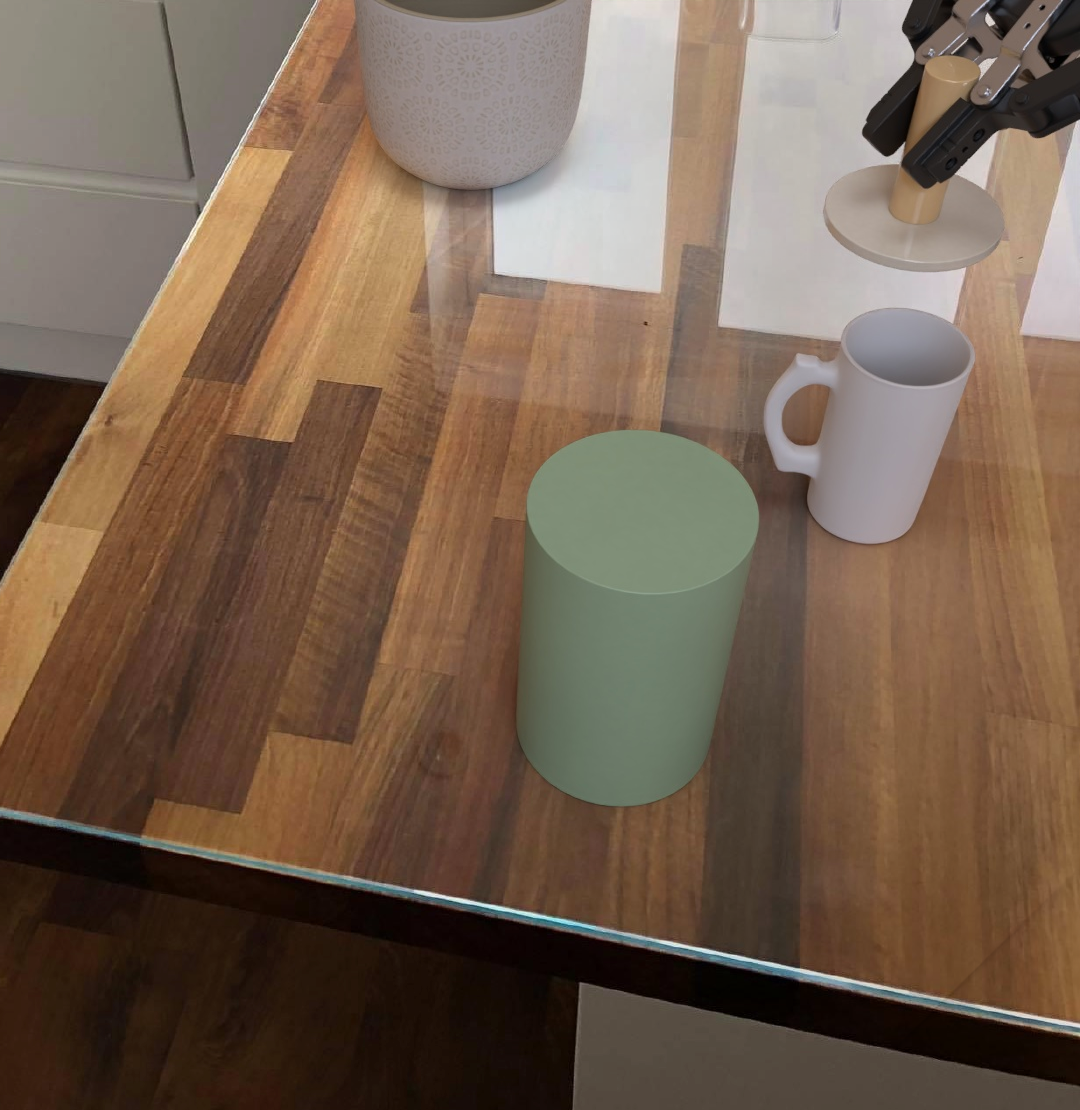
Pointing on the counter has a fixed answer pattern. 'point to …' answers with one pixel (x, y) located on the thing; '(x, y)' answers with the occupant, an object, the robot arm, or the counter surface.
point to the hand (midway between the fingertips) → (894, 160)
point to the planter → (472, 84)
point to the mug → (875, 420)
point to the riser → (629, 611)
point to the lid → (918, 195)
